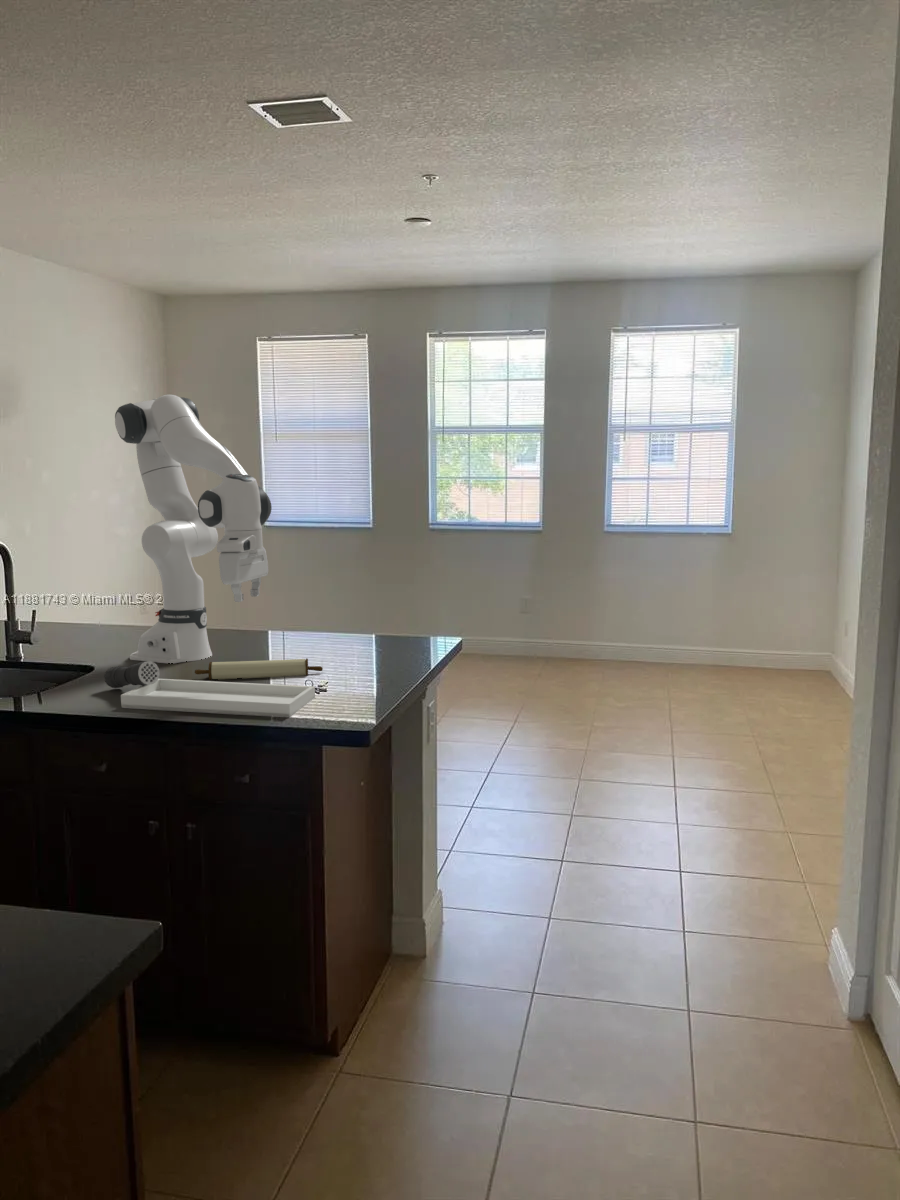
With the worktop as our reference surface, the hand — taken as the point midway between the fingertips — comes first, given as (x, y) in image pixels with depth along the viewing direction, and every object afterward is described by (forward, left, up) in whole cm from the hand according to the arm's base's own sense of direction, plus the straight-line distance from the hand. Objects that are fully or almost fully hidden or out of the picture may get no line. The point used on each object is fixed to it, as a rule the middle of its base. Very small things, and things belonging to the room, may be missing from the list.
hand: (247, 598), depth 212 cm
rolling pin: (-2, +9, -23) cm, 24 cm away
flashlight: (-29, -8, -23) cm, 37 cm away
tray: (0, -16, -22) cm, 27 cm away
